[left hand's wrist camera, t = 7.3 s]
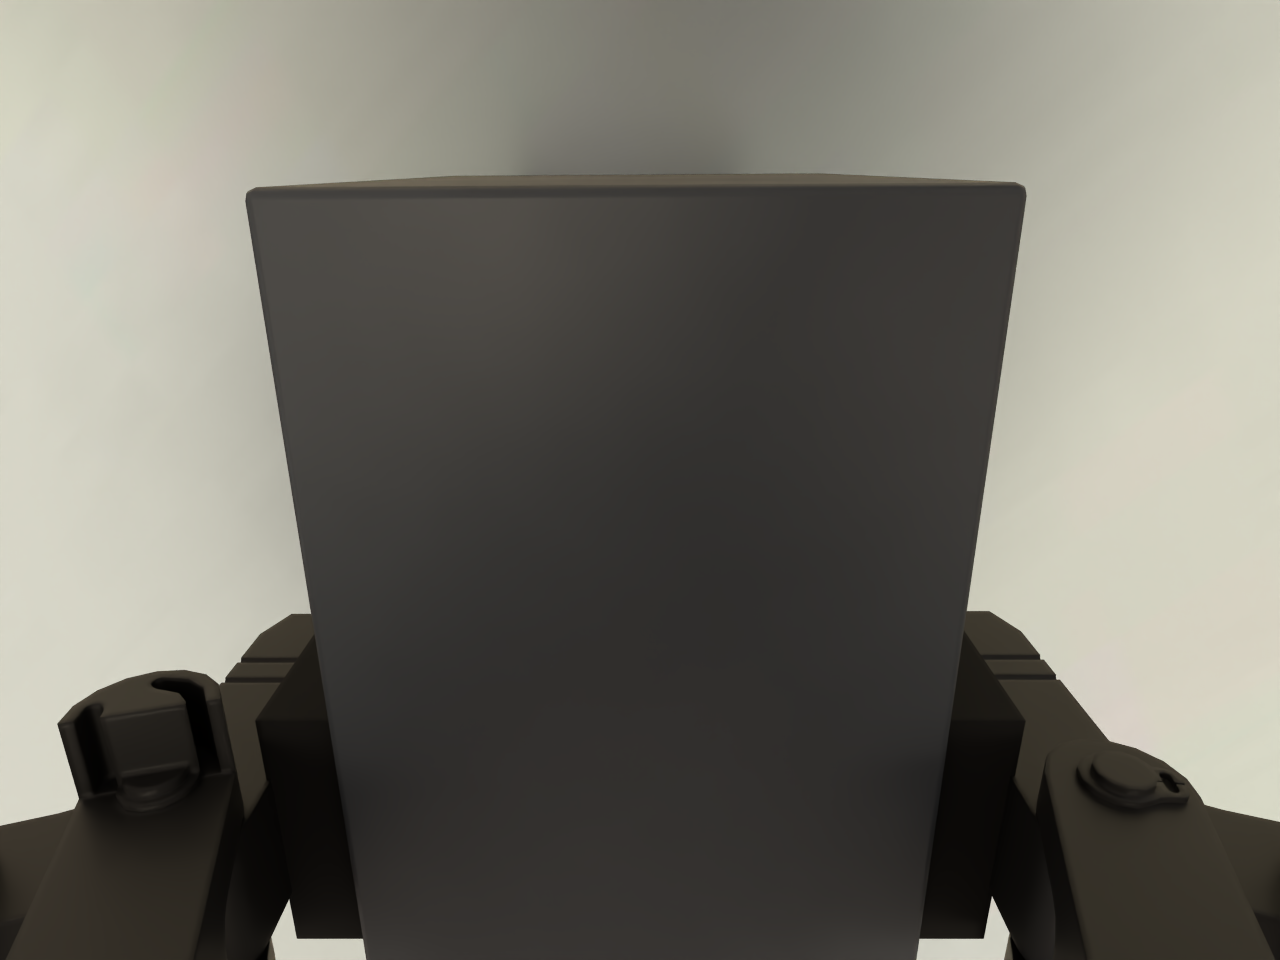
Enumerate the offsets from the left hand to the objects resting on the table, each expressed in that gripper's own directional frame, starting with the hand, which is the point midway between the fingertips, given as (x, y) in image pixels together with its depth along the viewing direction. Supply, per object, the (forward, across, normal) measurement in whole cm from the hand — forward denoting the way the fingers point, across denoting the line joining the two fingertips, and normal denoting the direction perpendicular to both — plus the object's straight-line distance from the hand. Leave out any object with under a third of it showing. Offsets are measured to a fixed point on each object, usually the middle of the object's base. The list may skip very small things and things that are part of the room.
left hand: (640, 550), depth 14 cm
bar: (0, 0, -32) cm, 32 cm away
